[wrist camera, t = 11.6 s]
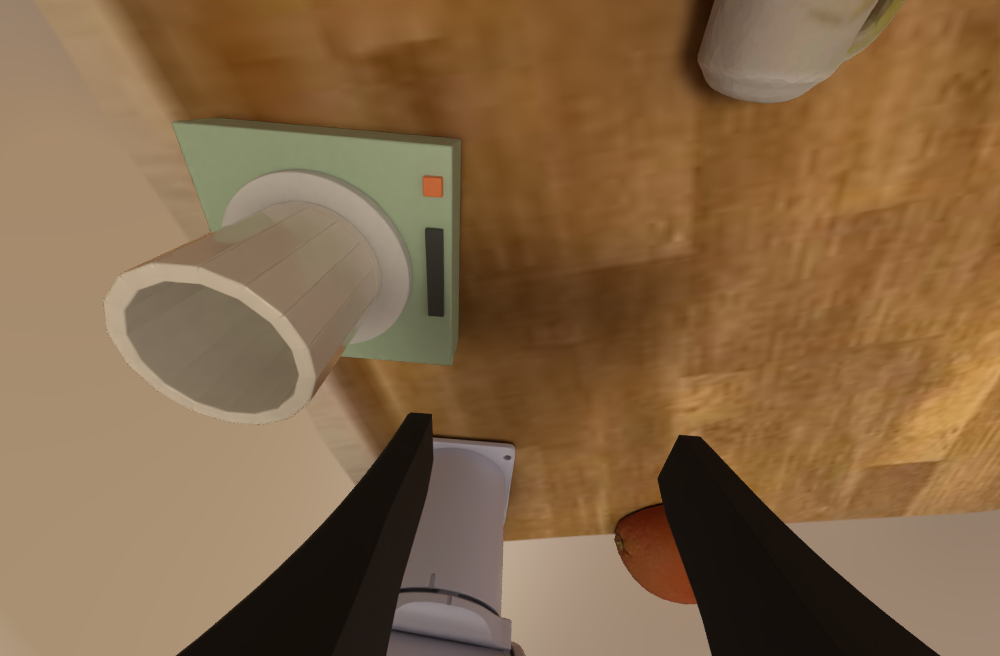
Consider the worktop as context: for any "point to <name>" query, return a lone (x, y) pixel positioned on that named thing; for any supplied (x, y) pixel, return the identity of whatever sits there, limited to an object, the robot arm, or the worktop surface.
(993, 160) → the worktop surface
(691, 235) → the worktop surface
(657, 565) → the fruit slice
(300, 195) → the kitchen scale
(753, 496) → the robot arm
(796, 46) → the mug
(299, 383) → the white hollow cylinder
